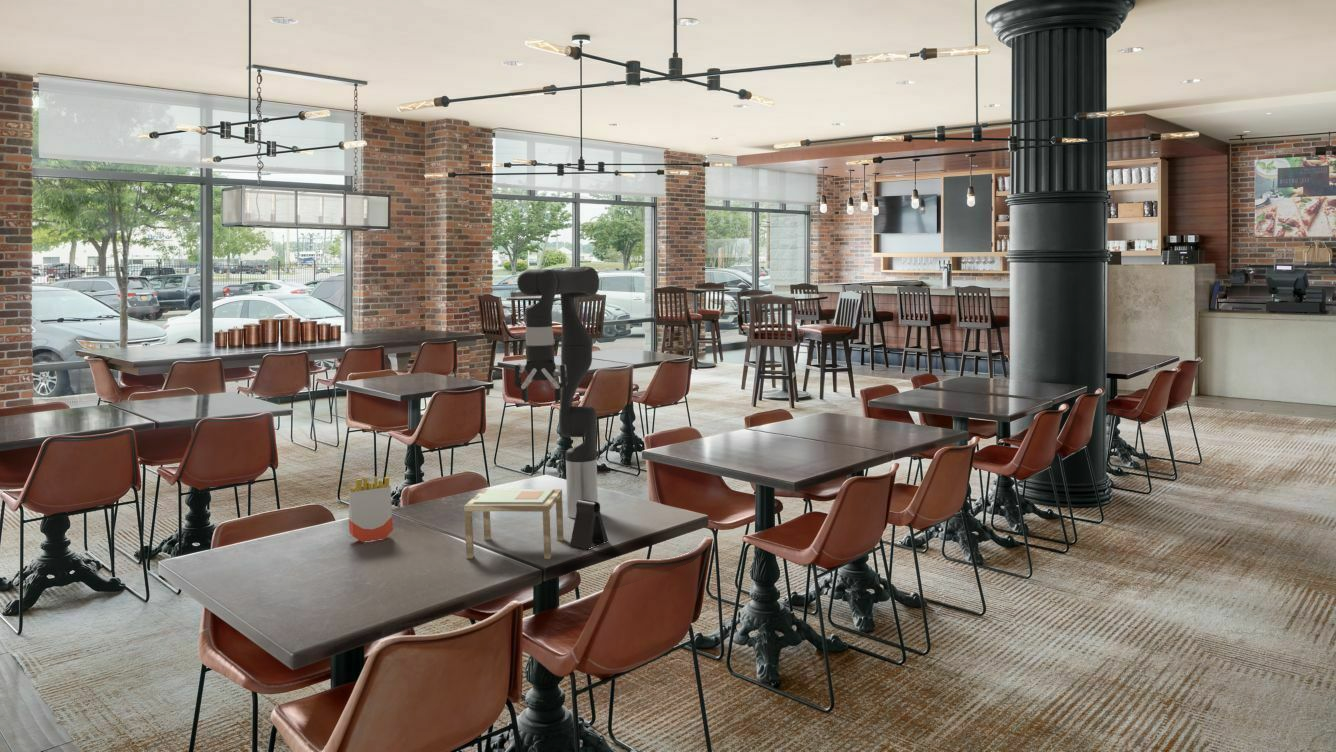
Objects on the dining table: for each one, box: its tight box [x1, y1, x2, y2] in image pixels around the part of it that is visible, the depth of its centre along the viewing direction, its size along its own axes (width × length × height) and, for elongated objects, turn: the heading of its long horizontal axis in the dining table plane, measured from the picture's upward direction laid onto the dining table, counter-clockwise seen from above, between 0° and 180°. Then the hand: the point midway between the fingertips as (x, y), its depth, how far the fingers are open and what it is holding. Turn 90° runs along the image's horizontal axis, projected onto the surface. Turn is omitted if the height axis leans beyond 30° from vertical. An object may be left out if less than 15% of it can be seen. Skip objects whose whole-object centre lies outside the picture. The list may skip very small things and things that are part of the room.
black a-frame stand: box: [569, 500, 609, 550], centre depth 254 cm, size 9×6×12 cm, turn 144°
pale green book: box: [474, 488, 553, 504], centre depth 251 cm, size 14×18×2 cm
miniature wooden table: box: [463, 488, 564, 560], centre depth 252 cm, size 18×22×14 cm
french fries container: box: [348, 476, 394, 543], centre depth 262 cm, size 5×11×18 cm, turn 121°
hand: (541, 402), depth 258 cm, fingers open, 8 cm apart
